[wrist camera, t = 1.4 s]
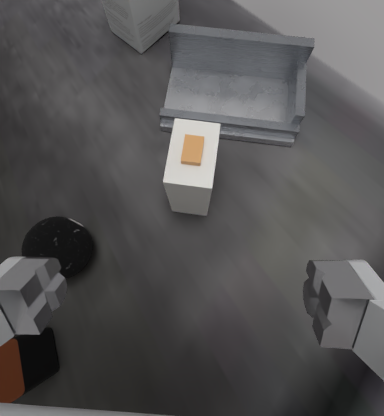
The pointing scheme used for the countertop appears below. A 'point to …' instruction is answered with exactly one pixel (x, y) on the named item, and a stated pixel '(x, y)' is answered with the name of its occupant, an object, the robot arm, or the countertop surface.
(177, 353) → the countertop surface
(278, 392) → the countertop surface
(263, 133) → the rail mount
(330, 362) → the countertop surface
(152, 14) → the skincare box
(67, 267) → the billiard ball
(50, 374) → the battery
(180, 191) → the block
